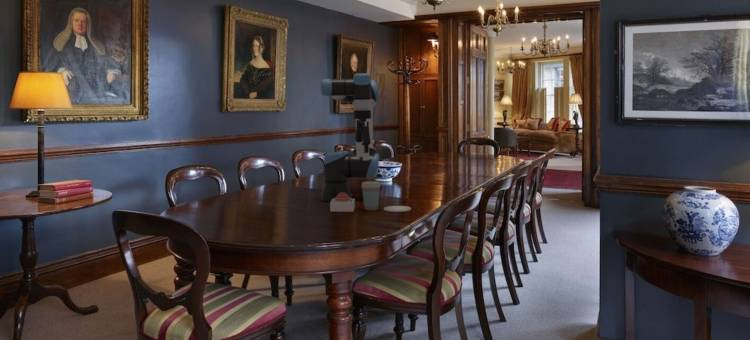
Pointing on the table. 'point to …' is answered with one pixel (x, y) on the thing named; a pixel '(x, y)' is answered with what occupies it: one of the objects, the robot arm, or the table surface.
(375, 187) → the coffee cup
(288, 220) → the table surface
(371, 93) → the robot arm
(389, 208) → the pad
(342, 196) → the dome plunger
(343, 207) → the popper housing
